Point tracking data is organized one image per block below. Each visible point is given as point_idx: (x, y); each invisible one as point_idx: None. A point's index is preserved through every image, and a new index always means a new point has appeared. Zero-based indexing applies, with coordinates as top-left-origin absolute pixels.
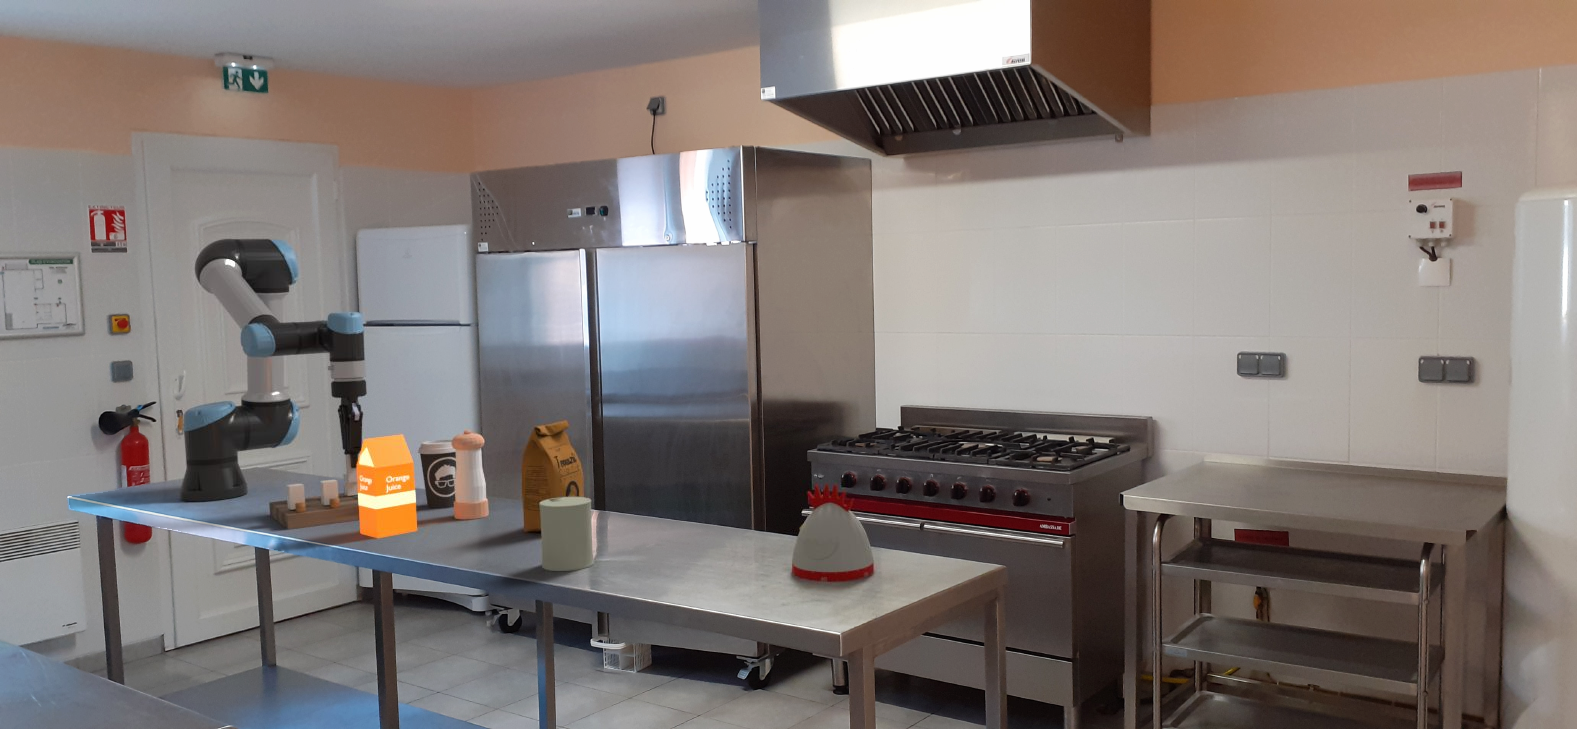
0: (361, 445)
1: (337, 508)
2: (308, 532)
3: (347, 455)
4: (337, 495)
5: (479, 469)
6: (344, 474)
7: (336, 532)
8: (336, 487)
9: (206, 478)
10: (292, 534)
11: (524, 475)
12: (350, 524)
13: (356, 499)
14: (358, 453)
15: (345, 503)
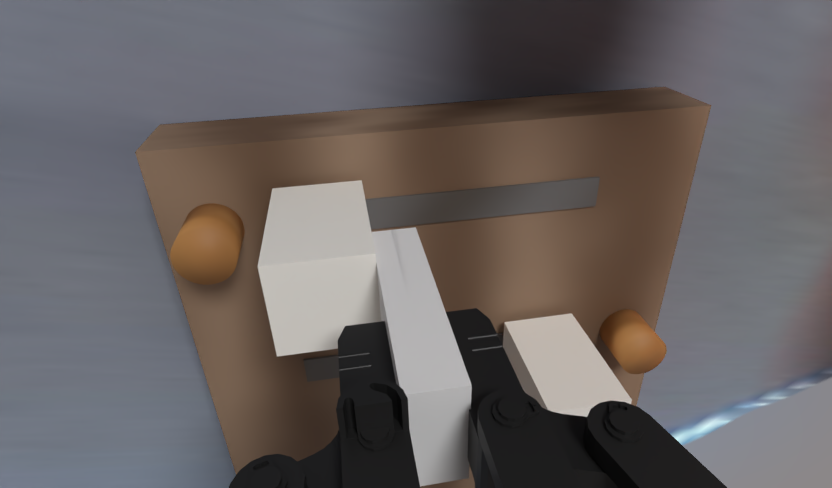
0: (692, 461)
1: (645, 318)
2: (701, 374)
3: (467, 466)
4: (590, 343)
5: None
6: (310, 345)
7: (790, 303)
8: (612, 377)
9: None
10: (685, 411)
11: None
12: (702, 247)
13: (470, 218)
14: (471, 390)
15: (545, 278)
